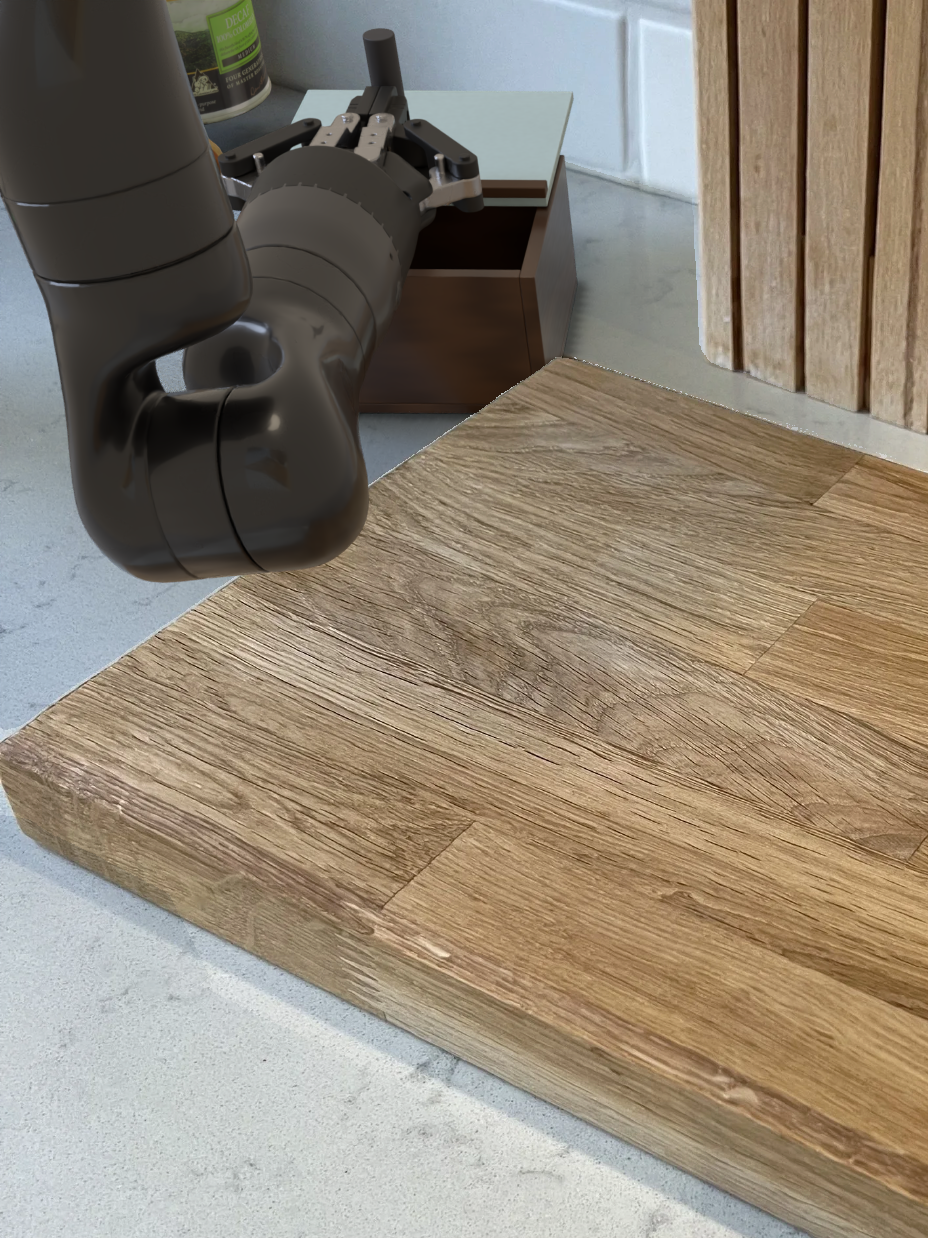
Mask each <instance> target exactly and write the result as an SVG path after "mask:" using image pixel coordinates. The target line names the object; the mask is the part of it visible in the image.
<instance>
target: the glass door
mask: <svg viewBox="0 0 928 1238" xmlns="http://www.w3.org/2000/svg"><path fill="white" fill-rule="evenodd" d="M362 41H363V48H364V53H365V58H366V64H367V69H368V76H369V81H370V86H395V87H396V89H397V94H398V96H405V97H406V99H407V103H408V109H409V115H410V120H412V119H424V120H426V121H428V122H429V123H431V124H432V125H433V126H435V127H436V128H438V129H439V130H441V131H442V132H443V133H445V134H446V135H448V136H449V137H451V138H452V139H453V140H455V141H456V142H458V143H459V144H461V145H462V146H463V147H465V148H466V149H468V150H469V151H471V152H472V153H473V154H475V155H476V156H477V158H478V165H479V173H480V179H481V187H482V194H483V201H484V206H547V205H548V201H549V197H550V193H551V189H552V185H553V181H554V177H555V173H556V168H557V164H558V160H559V156H560V155H561V151H562V147H563V144H564V139H565V136H566V132H567V127H568V124H569V119H570V116H571V112H572V108H573V104H574V99H575V98H574V92H573V91H561V90H560V91H559V90H558V91H556V90H555V91H554V90H551V91H548V90H547V91H546V90H545V91H544V90H542V91H541V90H538V91H537V90H521V91H520V90H421V89H420V90H417V89H416V90H408V89H407V90H405V88H404V83H403V82H404V81H403V77H402V70H401V64H400V58H399V53H398V46H397V40H396V35H395V32H394V30H392V29H390V28H386V27H385V28H383V27H378V28H376V27H375V28H370V29H368V30H366V31H364V32H363V33H362ZM364 90H365V89H307V91H306V93H305V95H304V97H303V98H302V101H301V103H300V105H299V107H298V109H297V111H296V113H295V115H294V117H293V119H292V121H291V123H290V124H293V123H295V122H297V121H300V120H302V119H306V118H316V119H319V120H321V123H322V126H330V125H331V124H332V122H333V121H334V119H335V118H336V116H338V115H340V114H343V113H346V110H347V108H348V106H349V104H350V102H351V100H352V99H353V98H355V97H356V96H362V95H363V92H364ZM300 147H302V146H301V144H299V145H296V146H294V147H292V148H291V150H293V149H296V148H300ZM442 206H444V205H442ZM448 206H454V205H453V204H452V203H451V204H450V205H448Z"/></svg>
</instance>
